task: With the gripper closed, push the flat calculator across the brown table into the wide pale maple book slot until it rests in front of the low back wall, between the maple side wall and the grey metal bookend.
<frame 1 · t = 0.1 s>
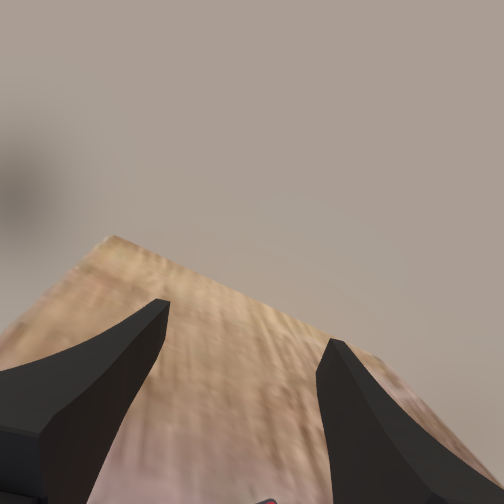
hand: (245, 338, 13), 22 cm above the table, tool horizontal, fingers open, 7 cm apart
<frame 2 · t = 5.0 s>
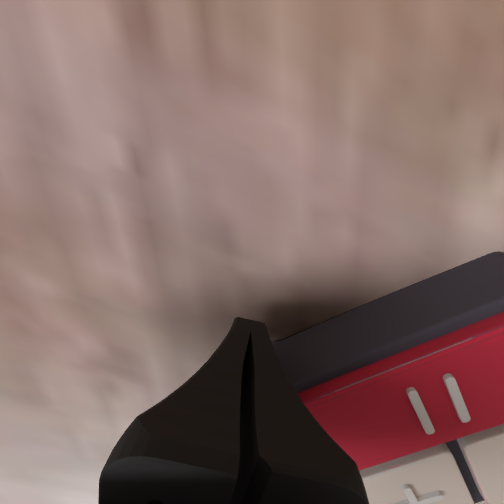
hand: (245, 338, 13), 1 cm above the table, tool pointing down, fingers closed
calculator: (372, 384, 16), on the table, touching gripper
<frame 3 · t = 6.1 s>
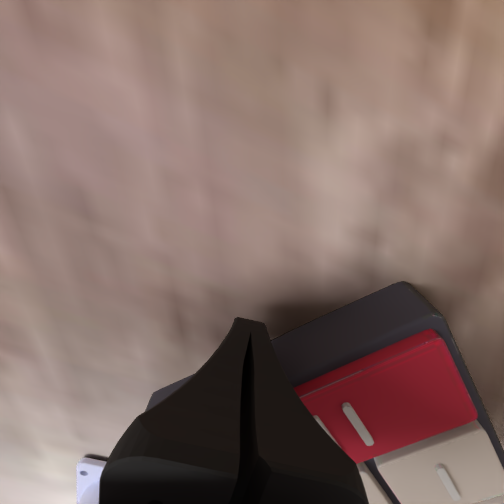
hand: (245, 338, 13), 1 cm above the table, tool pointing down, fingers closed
calculator: (311, 403, 17), on the table, touching gripper
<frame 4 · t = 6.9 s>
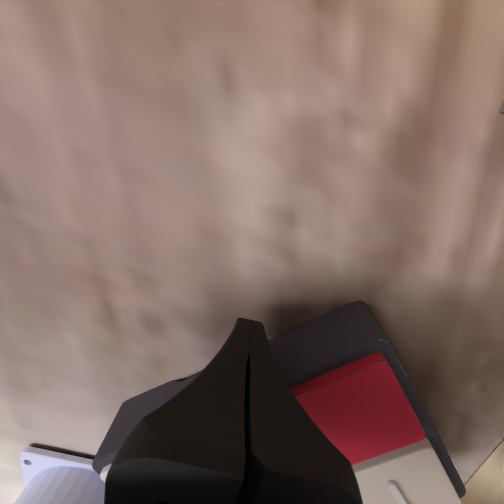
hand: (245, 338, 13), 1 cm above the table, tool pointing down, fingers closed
calculator: (277, 415, 17), on the table, touching book slot, gripper
book slot: (427, 361, 14), on the table
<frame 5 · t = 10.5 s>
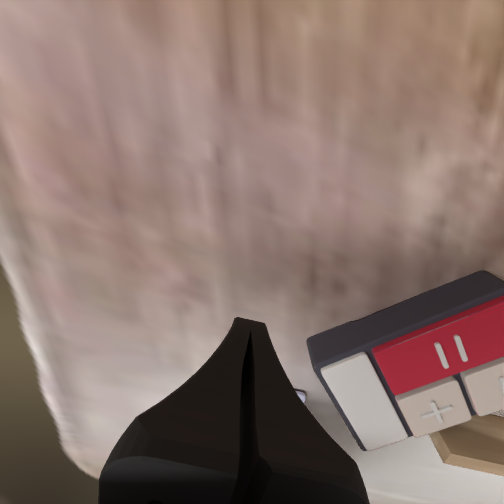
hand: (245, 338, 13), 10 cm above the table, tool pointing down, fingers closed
calculator: (407, 349, 26), on the table
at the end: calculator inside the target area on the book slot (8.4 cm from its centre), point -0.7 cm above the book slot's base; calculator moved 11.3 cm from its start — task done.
